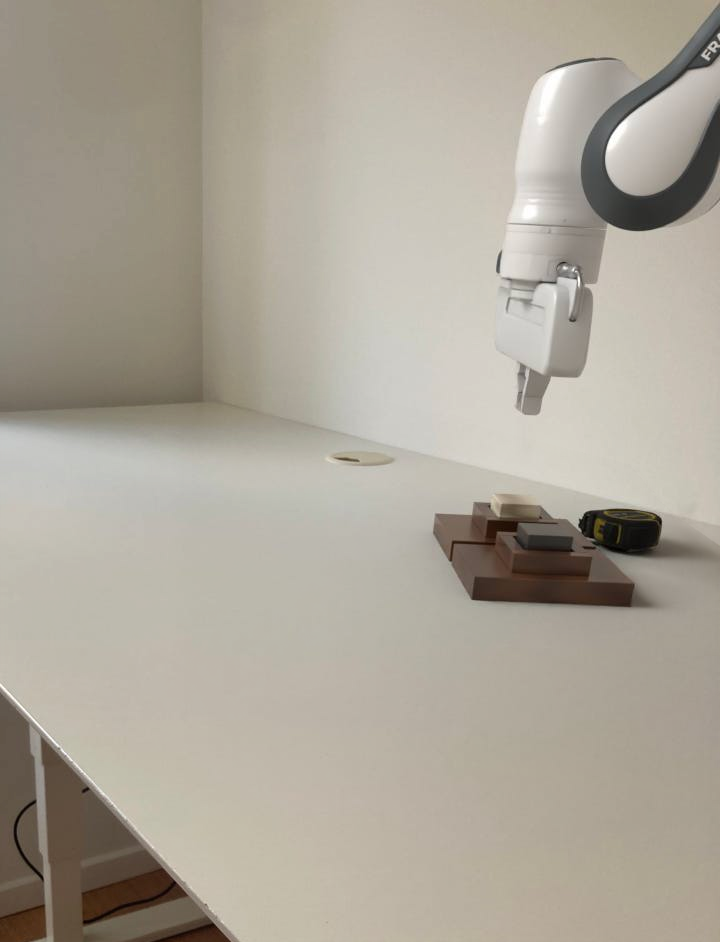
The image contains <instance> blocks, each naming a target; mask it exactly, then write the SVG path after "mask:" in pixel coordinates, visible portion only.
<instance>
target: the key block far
mask: <svg viewBox="0 0 720 942" xmlns="http://www.w3.org/2000/svg"><path fill="white" fill-rule="evenodd" d="M490 508H491V502H484V501H473V504H472V510H471V511H472V512H471V514H457V513H434V521H433V527H432V534H433V536H434V537H435V539H436V541H437V543H438V544H439V546H440V548H441V549H442V552H443V553H444V555H445V557H446V558H447V560H448V562H449V563H452V556H453V548H454V544H474V545H495V543H496V536H497V532H517V528H518V523H536V524H559V525H562V526H563V527H564V528H565V529H566V530H567V531H568V532H569V533H570V534H571V535H572V536H573V539H575V540H576V541H577V542H578V543H579V544H580V545H581V546H582V547H583V548H584V549H589V550H597V547H596V545H595V544H594V543H593V542H591V540H590V539H589V538H587V537H585V536H584V535H583V534H582V533H581V530H579V528H577V527H576V526H575V525H574V524H573V523H572V522H570V520H569V519H567V518H554V517H552V516H551V514H550V513H549V512H548V511H547V510H546V509H545V508H544V507H543V506H541V510H540V517H539V519H530V518H507V517H497V516H496V515H495V514H494V513H493V512H492V510H491V509H490Z"/></svg>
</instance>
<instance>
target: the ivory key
mask: <svg viewBox="0 0 720 942" xmlns="http://www.w3.org/2000/svg"><path fill="white" fill-rule="evenodd" d="M490 503H491V508H490V509H491V510H492V512H493V513H494V514H495V515H496V516H497V517H507V518H530V519H539V517H540V510H541V507H542V504H541V503H540V501H538V500H537V499H536V498H535V497H534V496H533V495H532V494H518V493H517V494H514V493H513V494H512V493H492V494H491V501H490Z"/></svg>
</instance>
